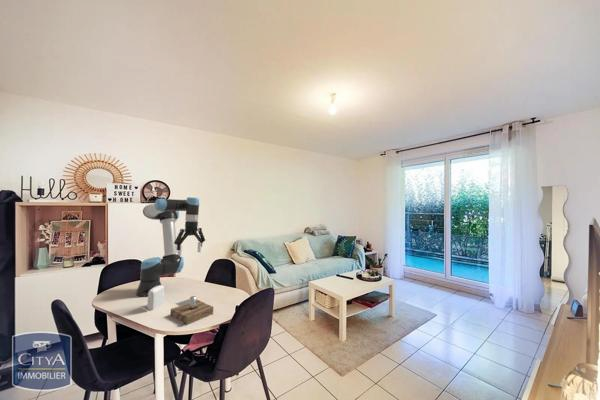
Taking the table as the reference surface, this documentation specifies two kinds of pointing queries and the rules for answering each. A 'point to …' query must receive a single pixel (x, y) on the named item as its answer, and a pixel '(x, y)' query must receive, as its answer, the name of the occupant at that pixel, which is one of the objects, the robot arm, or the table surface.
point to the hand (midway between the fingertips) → (189, 253)
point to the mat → (185, 302)
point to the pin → (192, 302)
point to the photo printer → (155, 297)
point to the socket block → (191, 312)
